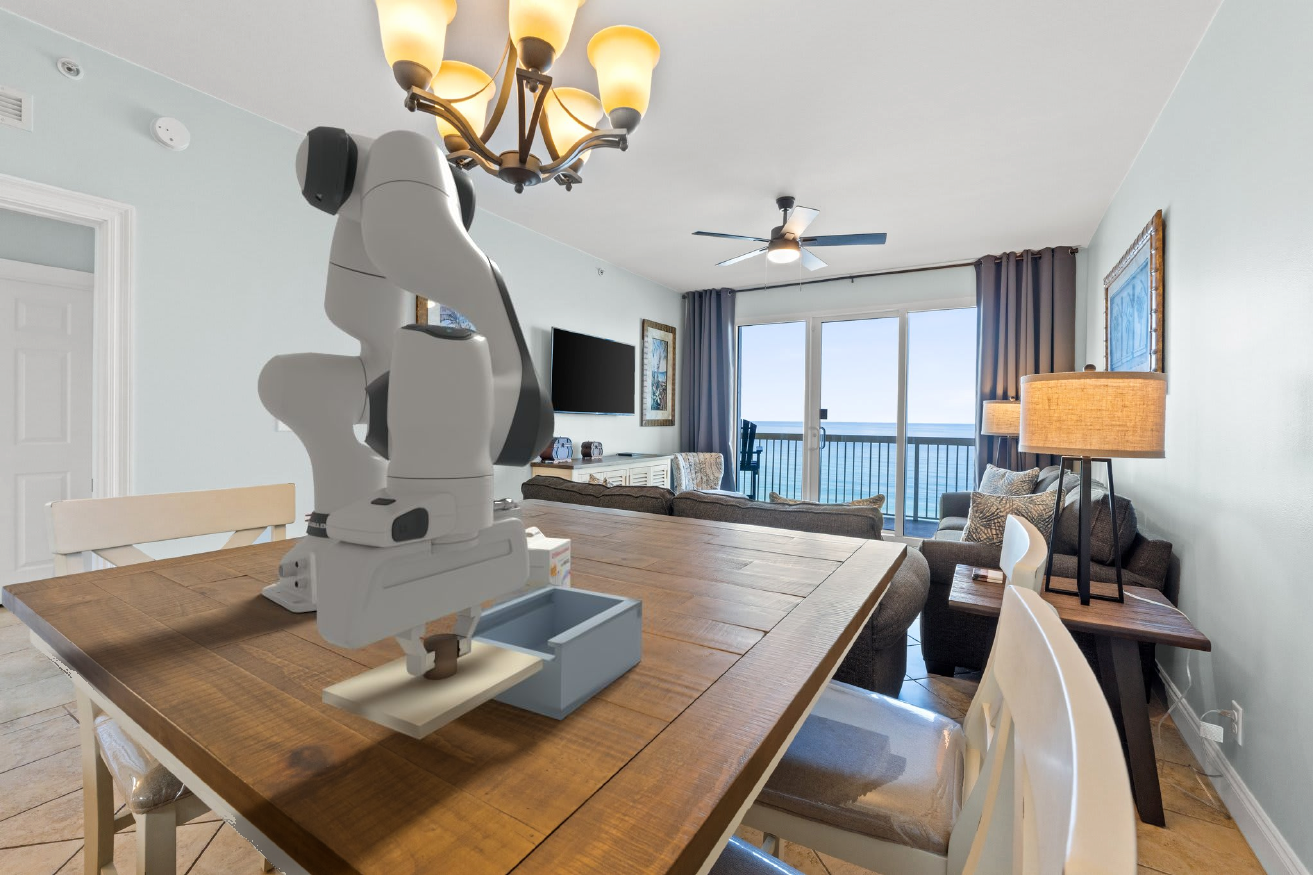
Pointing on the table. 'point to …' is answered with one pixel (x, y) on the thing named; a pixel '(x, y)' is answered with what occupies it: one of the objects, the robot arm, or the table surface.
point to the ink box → (544, 563)
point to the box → (564, 644)
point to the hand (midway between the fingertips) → (440, 663)
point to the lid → (432, 686)
